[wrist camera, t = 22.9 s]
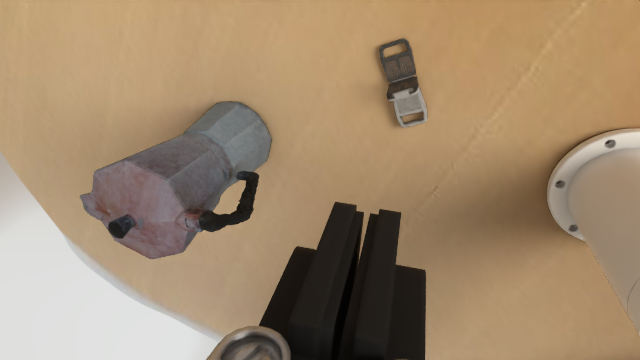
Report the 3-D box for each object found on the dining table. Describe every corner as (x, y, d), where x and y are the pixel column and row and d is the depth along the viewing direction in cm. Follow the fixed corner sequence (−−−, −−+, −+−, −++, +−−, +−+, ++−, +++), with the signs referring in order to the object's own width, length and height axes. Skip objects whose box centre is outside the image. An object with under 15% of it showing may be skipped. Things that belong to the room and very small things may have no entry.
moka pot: (170, 97, 47) (22, 175, 30) (296, 92, 43) (209, 179, 26) (191, 170, 51) (71, 275, 34) (307, 172, 47) (238, 291, 30)
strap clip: (429, 119, 41) (430, 134, 37) (400, 126, 42) (398, 142, 38) (408, 36, 38) (406, 43, 34) (377, 46, 39) (372, 55, 35)
